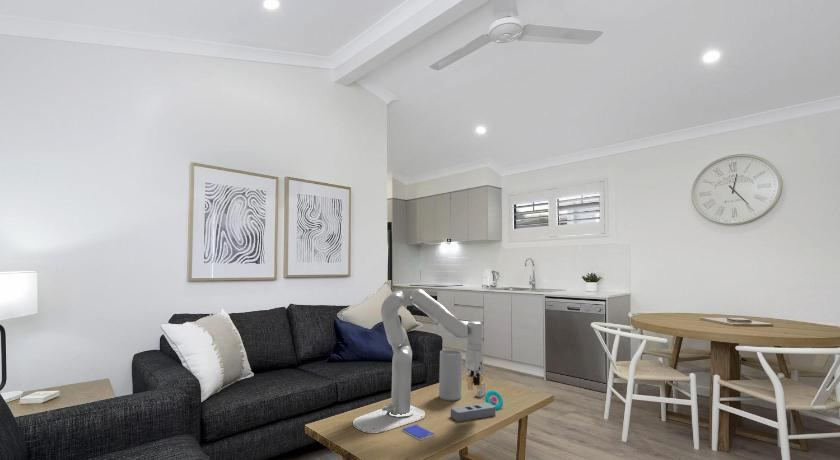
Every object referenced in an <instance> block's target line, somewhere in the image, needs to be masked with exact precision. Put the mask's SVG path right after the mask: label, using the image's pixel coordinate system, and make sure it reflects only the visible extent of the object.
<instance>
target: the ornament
mask: <svg viewBox="0 0 840 460" xmlns="http://www.w3.org/2000/svg"><path fill="white" fill-rule="evenodd" d="M484 400H485V403H489V404H491V405H493V406H495V407H496V411H499V410H500V409H501V408H502V407H503V404H504V399H503V397H502V395H501V394H500V392H498V391H496V390H488V391H487V392H485V395H484Z"/></svg>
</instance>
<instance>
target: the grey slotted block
mask: <svg viewBox="0 0 840 460" xmlns="http://www.w3.org/2000/svg"><path fill="white" fill-rule="evenodd" d="M496 411H497V410H496V407H495V406H493V405H491V404H489V403H486V402H484V403H476V404H475V403H474V404H470V405H462V406H456V407H451V408H450V417H451V418H452V419H454V420H456V421H457V422H458V423H459V422H463V421H470V420H474V419H475V420H476V419H480V418H481V419H482V418H486V417H493V416H496V415H497V414H496Z"/></svg>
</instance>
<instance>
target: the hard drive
mask: <svg viewBox="0 0 840 460" xmlns="http://www.w3.org/2000/svg"><path fill="white" fill-rule="evenodd" d="M402 432H404V433H406V434H408V435H409V436H411V437H413V438H415V439H417V440H419V441H422V440H427V439H428V438H431V437H434V436H435V433H434V432H432V431H430V430H428V429H425V428H423V427H421V426H419V425H418V424H413V425H410V426H407V427H403V428H402Z"/></svg>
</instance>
